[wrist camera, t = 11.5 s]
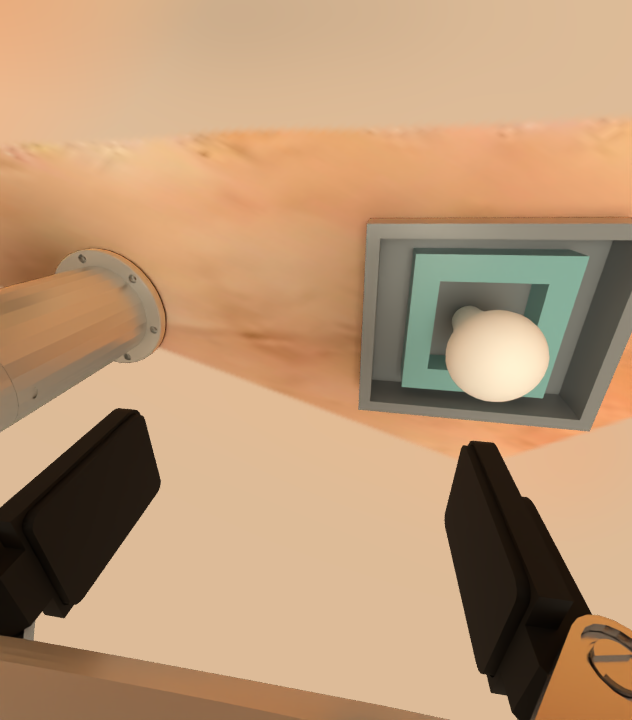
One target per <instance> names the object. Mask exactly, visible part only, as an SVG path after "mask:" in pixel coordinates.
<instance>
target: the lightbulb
mask: <svg viewBox="0 0 632 720" xmlns="http://www.w3.org/2000/svg"><path fill="white" fill-rule="evenodd" d="M452 326H453V333H452V335H451V336H450V339H449V341H448V343H447V347H446V366H447V369H448V372H449V374H450V376H451V378H452V380H453V381H454V382H455V383H456V385H457V386H458V387H459V388H460V389H462V390H463V391H464V392H466V393H467V394H469V395H471V396H473V397H475V398H477V399H480V400H484V401H491V402H505V401H510V400H514V399H517V398H519V397H522V396H523V395H525V394H527V393H529V392H530V391H531V390H533V389H534V388H535V387H536V386H537V385H538V384H539V383H540V381H541V380H542V378H543V377H544V375H545V373H546V370H547V368H548V364H549V348H548V344H547V341H546V338H545V336H544V335H543V333H542V332H541V330H540V329H539V327H538V326H536V325H535V324H534V323H533V322H532V321H531V320H529V319H528V318H526V317H524V316H523V315H521V314H517V313H514V312H510V311H505V310H490V311H481V310H480V309H478V308H477V307H474V306H464V307H462V308H460V309H458V310H457V311H456V312H455V314H454V315H453V317H452Z"/></svg>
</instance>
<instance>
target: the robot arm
mask: <svg viewBox="0 0 632 720" xmlns="http://www.w3.org/2000/svg"><path fill="white" fill-rule="evenodd" d="M165 323H166V322H165V313H164V309H163V306H162V302H161V300H160V298H159V295H158V293H157V291H156V289H155V288H154V286H153V285H152V283H151V282H150V280H149V279H148V278H147V277H146V276H145V275H144V273H143V272H142V271H141V270H140V269H139V268H137V267H136V266H135V265H134V264H133V263H132V262H130V261H129V260H127V259H125V258H124V257H122V256H120V255H118V254H116V253H113V252H111V251H108V250H103V249H84V250H79V251H76V252H74V253H71V254H69V255H68V256H66V257H65V258H64V259H63V260H62V261H61V262H60V264H59V265H58V267H57V269H56V272H55V274H54V275H50V276H47V277H43V278H39V279H35V280H31V281H27V282H23V283H20V284H16V285H12V286H8V287H4V288H0V432H1V431H3V430H5V429H6V428H8V427H9V426H11V425H13V424H14V423H16V422H18V421H19V420H21V419H22V418H24V417H25V416H27V415H29V414H30V413H32V412H33V411H35V410H37V409H38V408H39V407H41V406H43V405H44V404H46V403H48V402H49V401H51V400H52V399H54V398H56V397H57V396H59V395H60V394H62V393H64V392H65V391H67V390H68V389H70V388H71V387H73V386H75V385H76V384H78V383H79V382H81V381H83V380H84V379H86V378H87V377H89V376H91V375H92V374H94V373H95V372H97V371H98V370H100V369H102V368H103V367H105V366H106V365H108V364H110V363H111V362H113V361H115V362H120V363H131V362H137V361H140V360H142V359H145V358H146V357H148V356H149V355H151V354H152V353H153V352H154V351H155V350H156V349H157V348H158V347H159V345H160V344H161V342H162V340H163V336H164V333H165ZM160 483H161V480H160V476H159V472H158V468H157V464H156V460H155V457H154V453H153V449H152V445H151V441H150V438H149V434H148V430H147V426H146V422H145V419H144V417H143V416H141V415H140V413H139V412H138V411H137V410H132V409H121V408H118V409H115V410H114V411H112V412H111V413H110V414H109V415H108V416H106V417H105V418H104V419H103V420H102V421H100V422H99V423H98V424H97V425H96V426H95V427H94V428H92V429H91V430H90V431H89V432H88V433H86V434H85V435H84V436H83V437H82V438H81V439H80V440H78V441H77V442H76V443H75V444H74V445H73V446H71V447H70V448H69V449H68V450H67V451H66V452H64V453H63V454H62V455H61V456H60V457H59V458H57V459H56V460H55V461H54V462H53V463H52V464H50V465H49V466H48V467H47V468H46V469H45V470H43V471H42V472H41V473H40V474H39V475H38V476H36V477H35V478H34V479H33V480H32V481H31V482H30V483H28V484H27V485H26V486H25V487H24V488H23V489H22V490H20V491H19V492H18V493H17V494H15V495H14V496H13V497H12V498H11V499H10V500H8V501H7V502H6V503H5V504H4V505H3V506H2V507H1V508H0V720H448V719H443V718H438V717H434V716H429V715H424V714H420V713H415V712H410V711H406V710H401V709H396V708H391V707H387V706H382V705H377V704H371V703H366V702H361V701H356V700H351V699H345V698H340V697H335V696H330V695H325V694H319V693H314V692H309V691H303V690H298V689H293V688H287V687H282V686H278V685H272V684H267V683H262V682H256V681H251V680H245V679H240V678H235V677H230V676H224V675H219V674H214V673H208V672H203V671H197V670H192V669H186V668H181V667H176V666H170V665H165V664H160V663H154V662H149V661H143V660H138V659H132V658H126V657H121V656H116V655H110V654H105V653H99V652H94V651H88V650H82V649H77V648H71V647H66V646H60V645H54V644H48V643H43V642H38V641H33V639H34V628H35V620H36V618H37V617H38V616H39V615H40V613H41V612H42V611H43V613H44V614H45V615H49V616H55V617H60V618H65V617H66V615H67V614H68V612H69V611H70V610H71V608H72V607H73V605H76V604H78V603H79V602H80V601H81V600H82V599H83V598H84V597H85V595H86V594H87V592H88V591H89V589H90V588H91V587H92V585H93V584H94V582H95V581H96V580H97V578H98V577H99V575H100V574H101V572H102V571H103V570H104V568H105V566H106V565H107V564H108V562H109V561H110V559H111V558H112V557H113V555H114V553H115V552H116V551H117V549H118V548H119V547H120V545H121V544H122V542H123V541H124V540H125V538H126V537H127V535H128V534H129V532H130V531H131V530H132V528H133V527H134V525H135V524H136V522H137V521H138V520H139V518H140V517H141V515H142V514H143V513H144V511H145V510H146V508H147V507H148V505H149V504H150V502H151V501H152V499H153V498H154V497H155V495H156V494H157V492H158V491H159V488H160ZM445 528H446V533H447V537H448V541H449V546H450V550H451V555H452V559H453V563H454V568H455V572H456V576H457V581H458V586H459V589H460V594H461V599H462V603H463V607H464V611H465V616H466V621H467V625H468V629H469V634H470V638H471V643H472V647H473V652H474V655H475V660H476V664H477V668H478V670H479V672H480V673H481V674H486V675H487V678H488V682H489V687H490V691H491V693H495V694H501V695H507V696H508V700H509V704H510V707H511V711H512V713H513V714H514V715H515V716H516V717H517V720H632V631H631V630H630V629H629V628H626V627H625V626H623V625H621V624H619V623H618V622H616V621H614V620H611V619H609V618H606V617H602V616H599V615H592V614H591V612H590V610H589V608H588V606H587V604H586V602H585V600H584V598H583V597H582V595H581V593H580V591H579V589H578V587H577V585H576V583H575V581H574V579H573V577H572V576H571V574H570V572H569V570H568V568H567V566H566V564H565V562H564V560H563V559H562V557H561V555H560V553H559V551H558V549H557V547H556V545H555V543H554V542H553V539H552V538H551V536H550V534H549V532H548V530H547V528H546V526H545V524H544V522H543V521H542V519H541V517H540V515H539V513H538V511H537V509H536V507H535V505H534V504H533V502H532V501H531V500H530V499H529V498H527V497H522V496H521V495H520V493H519V490H518V488H517V487H516V485H515V482H514V480H513V479H512V476H511V475H510V472H509V470H508V469H507V466H506V465H505V462H504V460H503V458H502V456H501V454H500V452H499V450H498V448H497V446H496V445H495V444H494V443H491V442H480V441H470V443H469V445H468V446H465V445H464V446H462V448H461V452H460V456H459V460H458V464H457V468H456V472H455V476H454V480H453V484H452V488H451V492H450V496H449V500H448V504H447V508H446V512H445Z"/></svg>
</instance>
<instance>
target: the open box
mask: <svg viewBox="0 0 632 720" xmlns="http://www.w3.org/2000/svg"><path fill="white" fill-rule="evenodd" d="M464 306H474V307H477V308H478V309H480V310H481V311H490V310H505V311H510V312H514V313H517V314H521V315H523V316H524V317H526V318H528V319H529V320H531V321H532V322H533V323H534V324H535V325H536V326H538V327H539V329H540V330H541V332H542V333H543V335H544V336H545V338H546V341H547V344H548V348H549V364H548V368H547V370H546V373H545V375H544V377H543V378H542V380H541V381H540V383H539V384H538V385H537V386H536V387H535V388H534V389H533V390H531V391H530V392H529V393H527V394H525V395H523V396H522V397H519V398H517V399H514V400H510V401H505V402H491V401H484V400H480V399H477V398H475V397H473V396H471V395H469V394H467V393H466V392H464V391H463V390H462V389H460V388H459V387H458V386H457V385H456V383H455V382H454V381H453V380H452V378H451V376H450V374H449V372H448V369H447V366H446V347H447V343H448V341H449V339H450V336H451V335H452V333H453V326H452V317H453V315H454V314H455V312H456V311H457V310H458V309H460V308H462V307H464ZM631 332H632V218H630V217H556V218H370V220H369V221H368V223H367V235H366V256H365V278H364V300H363V322H362V344H361V366H360V387H359V409H358V410H369V411H379V412H390V413H400V414H411V415H422V416H432V417H443V418H453V419H464V420H474V421H485V422H496V423H506V424H517V425H527V426H538V427H548V428H559V429H569V430H580V431H590V429H591V427H592V425H593V422H594V420H595V417H596V415H597V413H598V410H599V408H600V406H601V403H602V401H603V399H604V396H605V394H606V391H607V389H608V387H609V384H610V382H611V380H612V377H613V375H614V373H615V370H616V368H617V365H618V363H619V361H620V358H621V356H622V354H623V351H624V349H625V347H626V344H627V342H628V339H629V337H630V335H631Z"/></svg>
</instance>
